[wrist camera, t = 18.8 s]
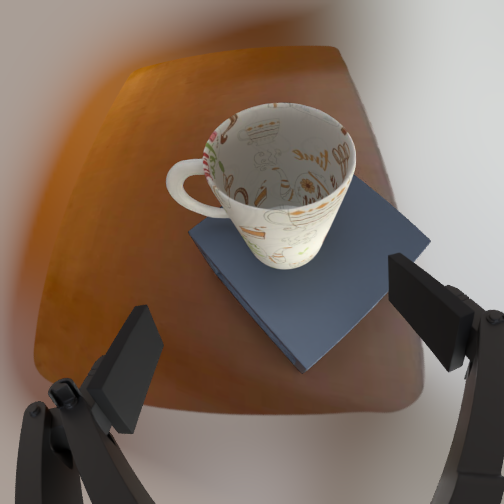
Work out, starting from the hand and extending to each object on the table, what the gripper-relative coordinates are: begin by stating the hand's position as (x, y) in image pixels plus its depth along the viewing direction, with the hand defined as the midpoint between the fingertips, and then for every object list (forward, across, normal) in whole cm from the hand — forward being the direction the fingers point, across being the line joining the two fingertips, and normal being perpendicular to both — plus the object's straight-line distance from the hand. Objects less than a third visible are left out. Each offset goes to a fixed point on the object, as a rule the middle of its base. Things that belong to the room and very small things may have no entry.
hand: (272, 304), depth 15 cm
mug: (+10, 0, +1) cm, 10 cm away
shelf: (+16, +4, -6) cm, 17 cm away
